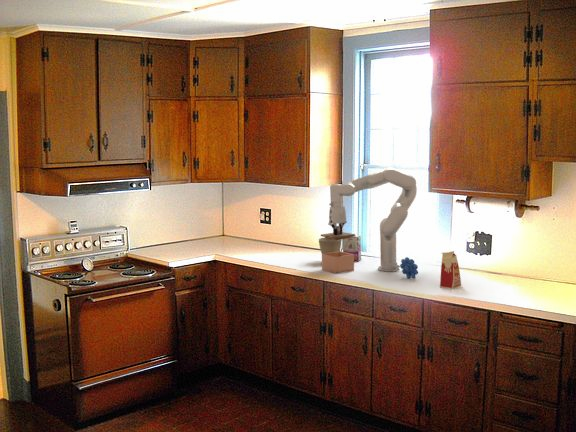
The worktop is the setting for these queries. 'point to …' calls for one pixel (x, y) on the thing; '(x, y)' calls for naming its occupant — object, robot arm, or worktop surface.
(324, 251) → the plant pot
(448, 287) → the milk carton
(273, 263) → the worktop surface
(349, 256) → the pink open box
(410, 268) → the grapes
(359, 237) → the candy bar box
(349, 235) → the lid
